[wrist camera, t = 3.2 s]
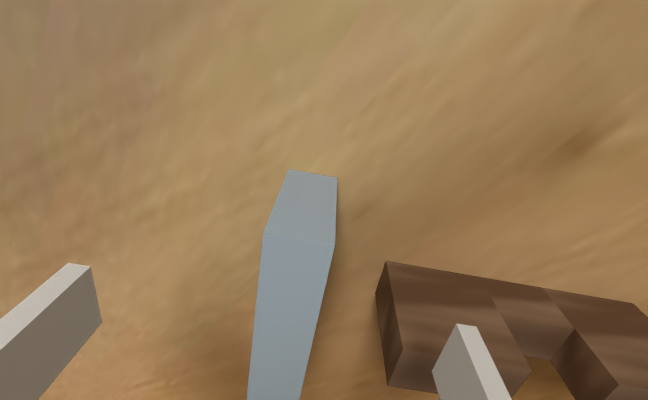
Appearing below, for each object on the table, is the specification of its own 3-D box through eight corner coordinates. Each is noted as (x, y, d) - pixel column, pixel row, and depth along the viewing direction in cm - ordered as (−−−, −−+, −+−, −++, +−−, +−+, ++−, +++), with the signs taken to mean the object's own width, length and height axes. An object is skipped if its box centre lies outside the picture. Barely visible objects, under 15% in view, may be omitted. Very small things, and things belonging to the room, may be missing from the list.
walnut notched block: (385, 260, 22) (403, 349, 16) (633, 303, 23) (742, 404, 16) (375, 292, 23) (387, 385, 17) (608, 332, 24) (701, 435, 18)
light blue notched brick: (288, 169, 19) (263, 232, 13) (337, 177, 19) (334, 245, 13) (270, 309, 25) (246, 401, 19) (308, 316, 25) (296, 409, 19)
